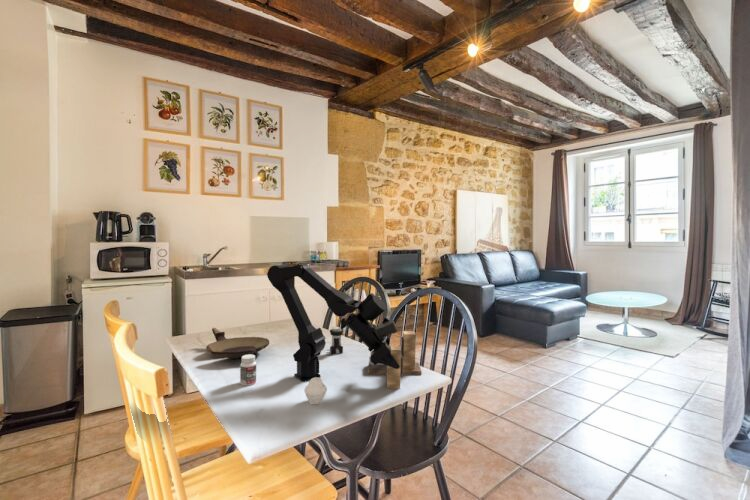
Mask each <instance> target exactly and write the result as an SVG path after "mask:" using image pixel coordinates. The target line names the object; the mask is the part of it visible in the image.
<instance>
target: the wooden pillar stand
mask: <svg viewBox="0 0 750 500" xmlns="http://www.w3.org/2000/svg"><path fill="white" fill-rule="evenodd" d="M416 339H417V337H416V332H415V331H411V330H409V331H408V330H403V331H402V336H401V343H400V348H401V354H402V357H403V364H402V375H417V376H418V375H420V376H422V369H421V366H420V363H419V362H416V345H417V344H416V343H417V342H416ZM368 360H369V361H368V370H367V372H368V375H387V365H384V364H381V363H378V364H377V365H374V364H373V363H372V362H371V356H369V358H368Z"/></svg>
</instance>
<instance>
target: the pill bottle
mask: <svg viewBox="0 0 750 500" xmlns="http://www.w3.org/2000/svg"><path fill="white" fill-rule="evenodd" d="M239 367H240V368H239V369H240V370H239V371H240V372H239V373H240V376H239V378H240V381H239V383H240V384H241V385H242V386H244V387H245V386H252V385H254V384H256V383H257V362H256V355H254V354H249V355H244V356H242V357H241V363H240V366H239Z"/></svg>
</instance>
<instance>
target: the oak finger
mask: <svg viewBox="0 0 750 500" xmlns="http://www.w3.org/2000/svg"><path fill="white" fill-rule="evenodd" d="M390 346H391V354H392V356H393V357H394V359H395V360H396V361H397V363H398V364H399V366H400V368H398V369H395V368H393V367H390V366H387V374H386V387H387V389H401V378H402V377H403V374H402V364H403V357H402V354H401V345H390Z"/></svg>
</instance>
